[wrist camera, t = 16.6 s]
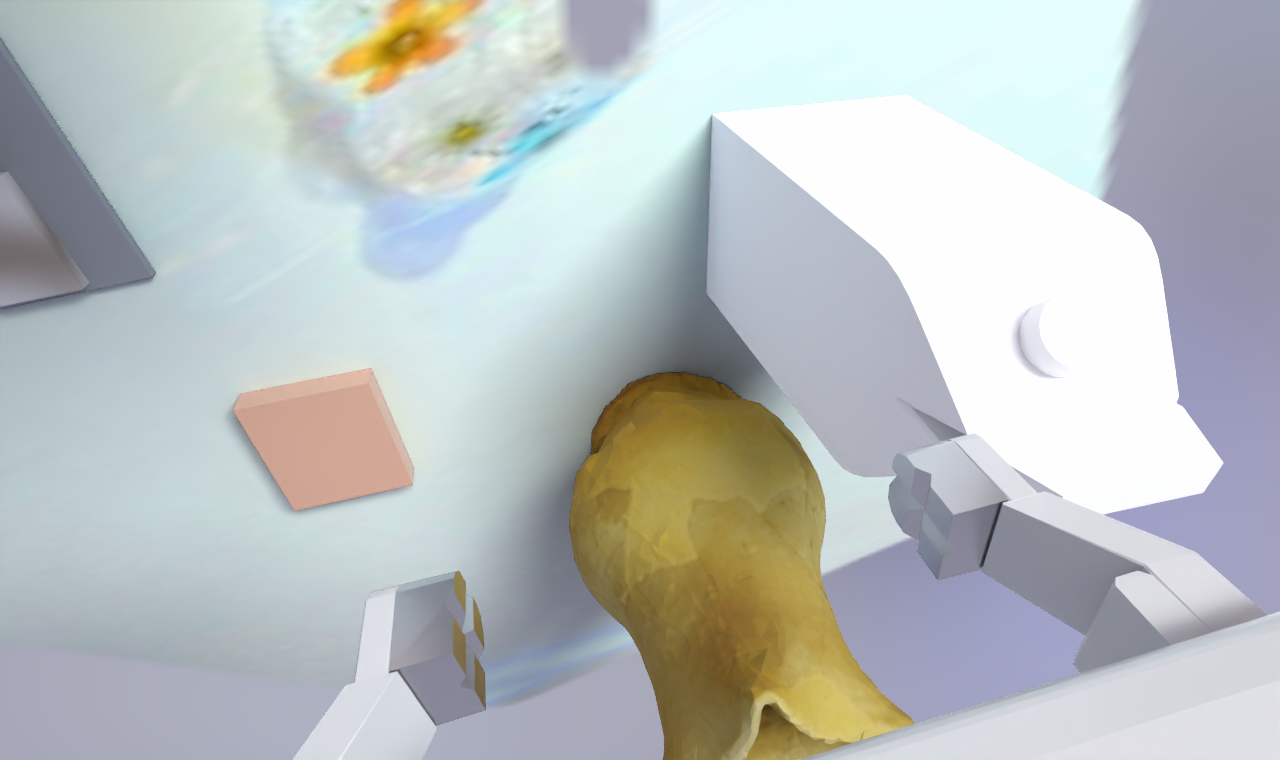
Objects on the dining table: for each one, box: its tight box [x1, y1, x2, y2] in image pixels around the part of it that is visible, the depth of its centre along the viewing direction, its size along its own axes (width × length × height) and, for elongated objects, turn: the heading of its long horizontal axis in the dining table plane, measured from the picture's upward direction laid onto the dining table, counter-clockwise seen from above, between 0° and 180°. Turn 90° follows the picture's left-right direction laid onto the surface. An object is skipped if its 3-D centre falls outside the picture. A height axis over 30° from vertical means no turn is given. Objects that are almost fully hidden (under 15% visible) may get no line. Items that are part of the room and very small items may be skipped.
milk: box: [707, 95, 1223, 514], centre depth 31 cm, size 12×12×26 cm
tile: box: [233, 368, 414, 511], centre depth 43 cm, size 2×8×9 cm
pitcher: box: [569, 372, 914, 760], centre depth 41 cm, size 17×19×25 cm
